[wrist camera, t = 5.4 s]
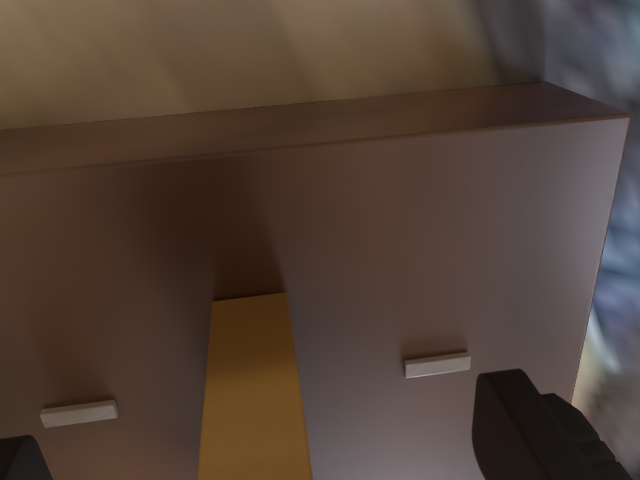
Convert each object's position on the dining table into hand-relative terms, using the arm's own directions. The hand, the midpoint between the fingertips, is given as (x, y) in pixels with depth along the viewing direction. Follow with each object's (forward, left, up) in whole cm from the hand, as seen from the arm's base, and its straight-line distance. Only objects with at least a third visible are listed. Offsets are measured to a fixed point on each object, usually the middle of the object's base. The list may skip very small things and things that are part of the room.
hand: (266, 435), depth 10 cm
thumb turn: (0, 0, -1) cm, 1 cm away
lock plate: (0, 0, -4) cm, 4 cm away
